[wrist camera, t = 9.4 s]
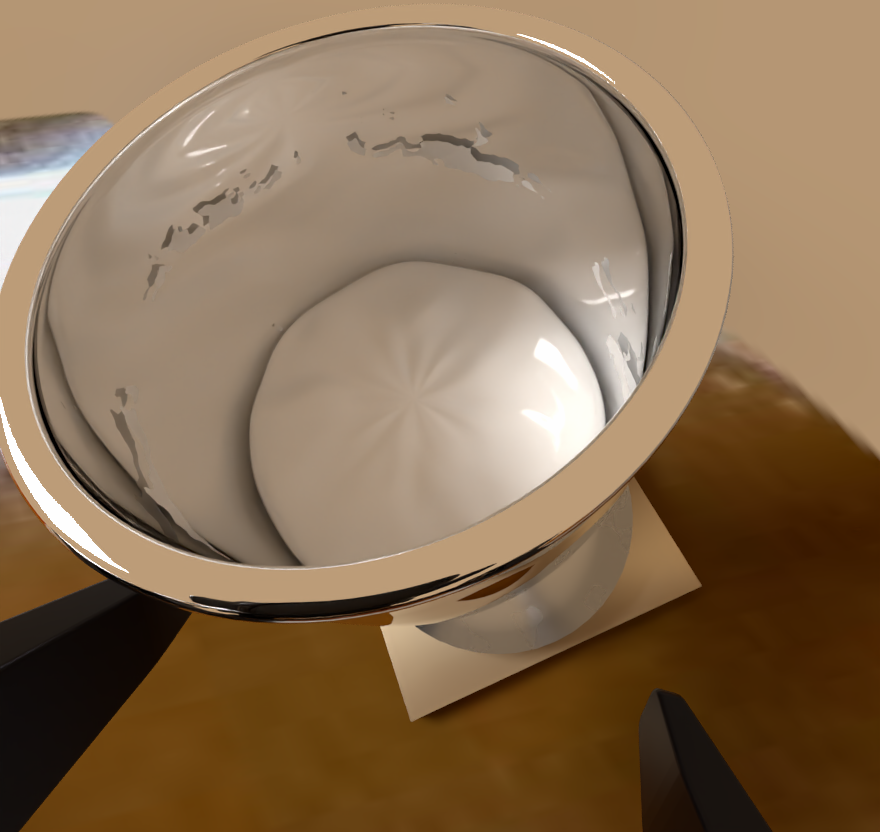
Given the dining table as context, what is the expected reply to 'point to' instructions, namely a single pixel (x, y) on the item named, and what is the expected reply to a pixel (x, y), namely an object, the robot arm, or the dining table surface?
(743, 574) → the dining table surface
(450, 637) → the flange
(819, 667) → the dining table surface
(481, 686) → the base plate
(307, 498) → the beer glass
